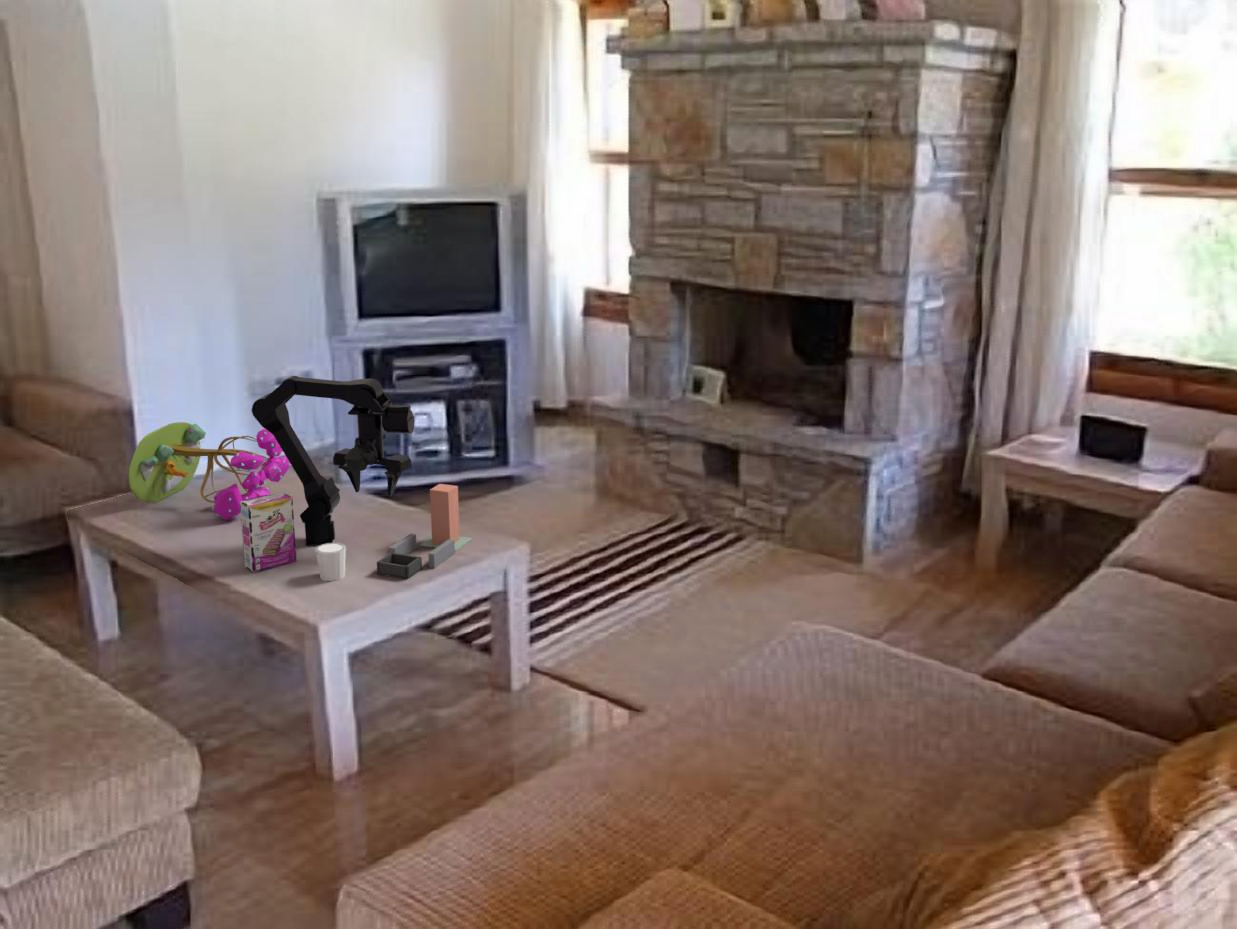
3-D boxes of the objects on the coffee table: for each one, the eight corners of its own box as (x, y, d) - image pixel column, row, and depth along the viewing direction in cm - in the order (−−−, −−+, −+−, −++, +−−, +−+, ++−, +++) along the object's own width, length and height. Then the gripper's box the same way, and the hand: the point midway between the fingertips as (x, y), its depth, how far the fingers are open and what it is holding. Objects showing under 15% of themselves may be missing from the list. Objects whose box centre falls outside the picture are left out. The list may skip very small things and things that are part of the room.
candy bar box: (254, 574, 267) (248, 506, 262) (244, 567, 271) (238, 501, 266) (298, 561, 275) (293, 496, 270) (288, 556, 278) (282, 491, 273)
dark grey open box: (377, 574, 268) (376, 562, 267) (392, 564, 273) (391, 552, 273) (407, 579, 265) (407, 566, 264) (422, 569, 271) (421, 557, 270)
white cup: (319, 570, 269) (317, 542, 267) (349, 570, 270) (347, 541, 268) (314, 582, 263) (312, 553, 261) (345, 581, 263) (343, 552, 261)
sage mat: (419, 545, 285) (419, 545, 285) (437, 533, 293) (437, 533, 293) (455, 551, 282) (455, 550, 282) (472, 538, 290) (472, 538, 290)
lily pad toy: (192, 383, 318) (300, 413, 308) (208, 469, 334) (311, 500, 324) (114, 436, 295) (228, 470, 285) (135, 525, 311) (244, 561, 301)
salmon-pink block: (432, 543, 286) (429, 489, 282) (441, 536, 290) (439, 483, 286) (450, 546, 284) (448, 492, 280) (459, 539, 289) (457, 486, 285)
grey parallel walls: (389, 561, 275) (389, 547, 274) (411, 547, 284) (410, 533, 283) (434, 568, 271) (434, 554, 270) (454, 553, 280) (454, 540, 279)
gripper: (317, 436, 273) (322, 499, 278) (386, 444, 267) (390, 508, 272) (343, 425, 283) (347, 486, 288) (411, 432, 277) (414, 494, 282)
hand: (373, 494), depth 282 cm, fingers open, 9 cm apart
